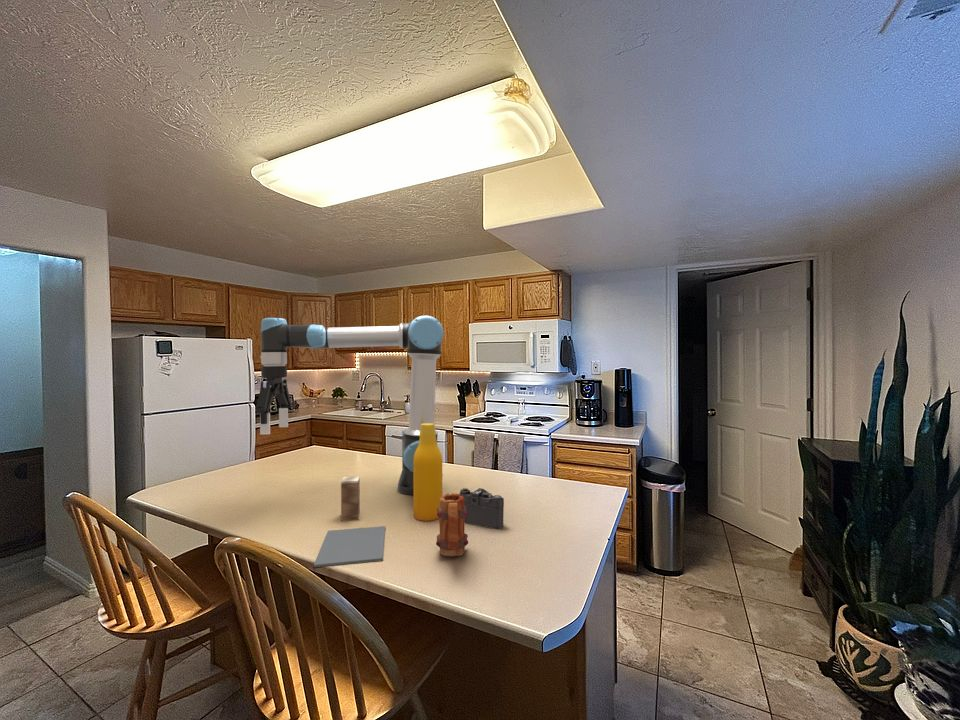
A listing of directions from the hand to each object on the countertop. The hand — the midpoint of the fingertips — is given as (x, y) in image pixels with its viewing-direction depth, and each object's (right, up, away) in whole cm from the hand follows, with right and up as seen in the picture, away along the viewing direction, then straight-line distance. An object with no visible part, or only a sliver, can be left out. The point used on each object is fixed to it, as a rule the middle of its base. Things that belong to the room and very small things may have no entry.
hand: (274, 430), depth 133 cm
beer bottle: (+51, -26, -4) cm, 57 cm away
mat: (+33, -26, -25) cm, 49 cm away
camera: (+69, -27, -8) cm, 74 cm away
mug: (+60, -26, -32) cm, 73 cm away
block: (+26, -26, -5) cm, 38 cm away
